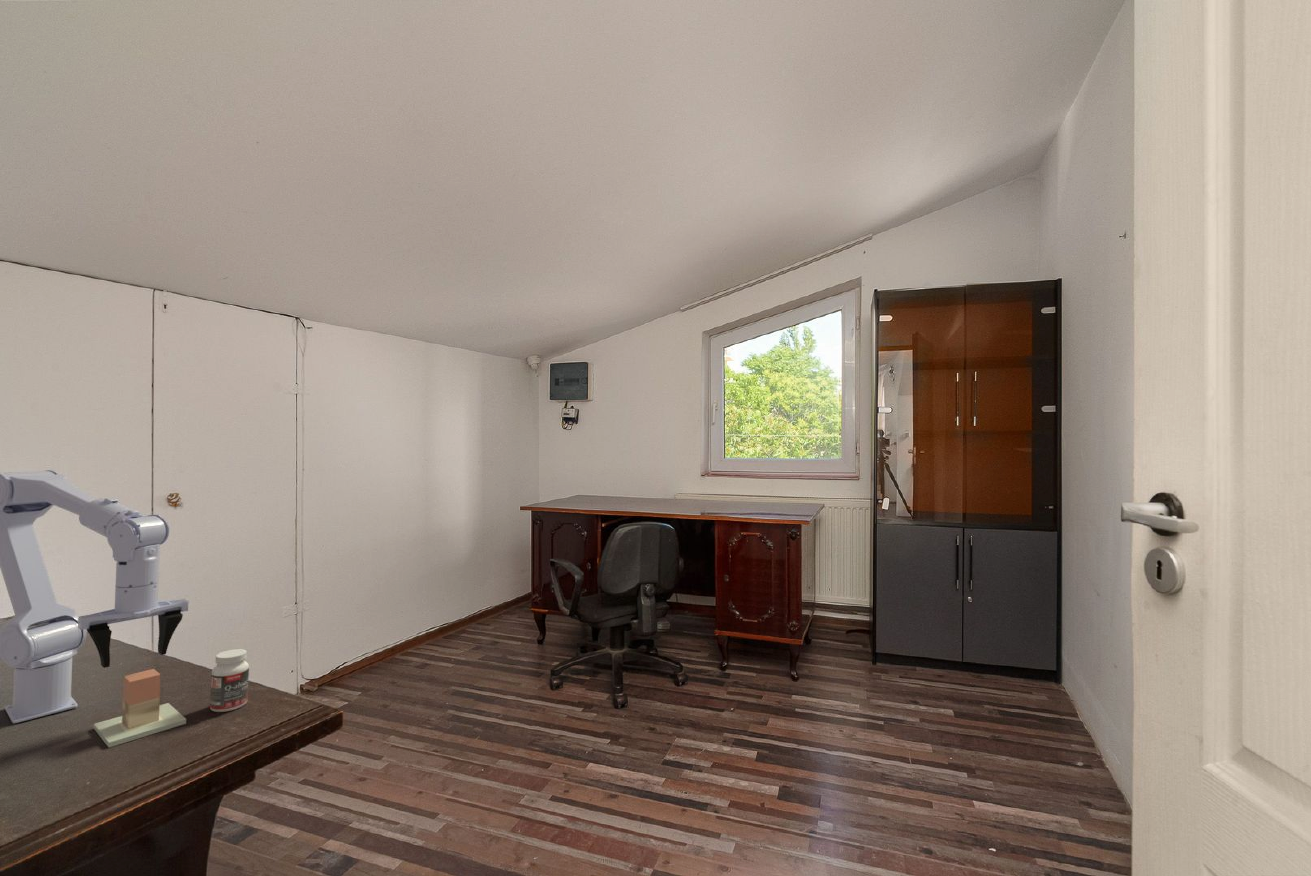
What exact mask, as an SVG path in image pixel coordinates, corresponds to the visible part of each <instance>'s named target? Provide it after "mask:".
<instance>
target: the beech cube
mask: <svg viewBox="0 0 1311 876" xmlns="http://www.w3.org/2000/svg"><path fill="white" fill-rule="evenodd" d="M160 700H161V696H160V697H159V698H156V699H152V700H148V701H145V702H141V703H137V704H134V705H130V706H129V705H128V704H127V703H126V702H125V701H124V700H123V699H122V708H121V709H122V714H121V716H122V723H123V724H124V725H125V726H126V727H127V728H128V729H131V728H135V727H138V726H141V725H145V724H148V723H152V722H155V721H158V720H159V706H160V705H161V701H160Z"/></svg>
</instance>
